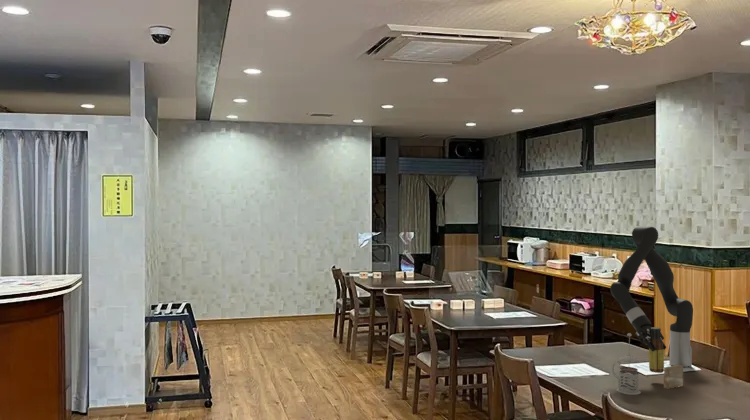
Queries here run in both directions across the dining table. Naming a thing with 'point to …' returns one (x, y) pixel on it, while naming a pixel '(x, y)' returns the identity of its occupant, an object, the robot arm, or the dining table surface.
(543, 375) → the dining table surface
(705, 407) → the dining table surface
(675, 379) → the tile
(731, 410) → the dining table surface
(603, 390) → the dining table surface
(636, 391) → the french press
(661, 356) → the sauce bottle
